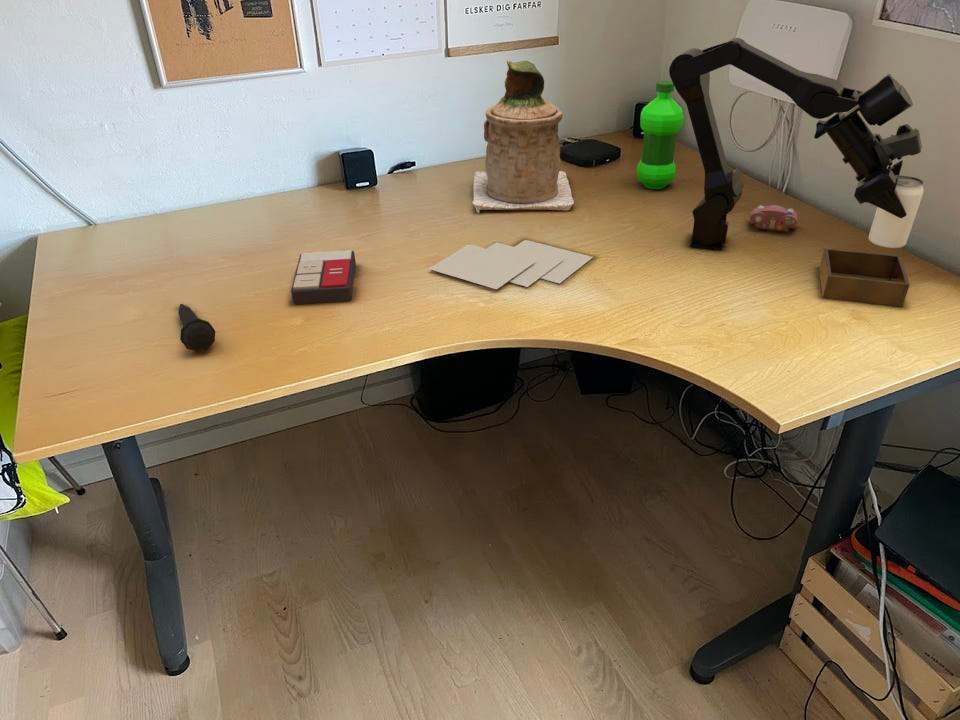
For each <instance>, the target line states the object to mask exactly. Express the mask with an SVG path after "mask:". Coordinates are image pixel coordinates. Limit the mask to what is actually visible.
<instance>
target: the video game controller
mask: <svg viewBox="0 0 960 720" xmlns="http://www.w3.org/2000/svg"><path fill="white" fill-rule="evenodd" d="M771 221H775V222H774V224H773V225H774V226H773V228H774V230H775V231H777V232H778V231H779V232H783V231H785V230H786V229H787V228H789V229H795V228H796V227H797V225H798V222H799V219H798V214H797V212H796V211H795V210H794V208H787V207H784V206H782V205H777V204H772V205H765V206H764V205H761V204H760V205H758V206H756V207H755V208H754V209H752V211H751V213H750V214H749V224H751V225H754V224H756V225H757V226H758V227H759V228H760V229H761V230H767V229H770V227H771V226H770V225H771Z"/></svg>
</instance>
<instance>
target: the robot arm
mask: <svg viewBox="0 0 960 720" xmlns="http://www.w3.org/2000/svg"><path fill="white" fill-rule="evenodd" d="M729 65H730V66H733V67H734V68H737V69H738V70H740V71H742V72H744V73H746V74H748V75H750V76H752V77H754V78H755V79H757V80H759V81H761V82H763V83H765V84H767V85H768V86H771V87H773V88H774V89H776V90H778V91H780V92H782V93H784V94H785V95H787V96H788V97H789V98H790V99H791V100H792V101H793V102H794V104H795V105H797V106H798V107H799V108H800V109H801V110H802V111H803V112H805V113H806V114H807V115H808V116H810V117H812V118H813V119H817V120H818V121H817V122H816V124H815V126H816V127H815V128H816V129H815V132H814V133H815V134H814V136H813V139H815V140H818V139H819V138H821V137H822V136H824V135H825V134H827V135H828V137H829V138H830V139H831V141H832V143H834V145H835V147H837V149H838V150H839V152H840V153H841V155H842V156H843V157H842V159H841V160H842V162H843V163H844V164H845V165H847V164H849V166H850V167H851V168H852V170H853V171H854V172H855V174H856V175H855V179H856V181H857V182H858V183H857V185H856V188H855V191H854V195H853V197H854V198H855V199H856V201H857V202H858V203H859V205H861V204H864V203H866V204H867V203H868V204H870V205H872V206H875V207H876V208H877V207H879V208H881V209H883V210H885V211H887V212H889V213H891V214H893V215H895V216H897V217H899V218H903V217H905V216H906V215H907V214H906V211H905V209H904V207H903V205H902V203H901V200H900V198H899V196H898V194H897V192H896V186H897V182H898V178H895V175H901V170H902V167H903V164H904V160H902V159H903V158H904V157H907V156H915V155H916V156H917V155H919V154H920V153H921V152H922V148H923V145H922V139H921V133H920V130H919V129H918V128H914V129H913V128H912V127H911V126H910V124H909V123H905V124H902V125H899V126H898V127H897V131H896V133H895V134H890V136H889V137H885V138H883V137H882V135H880V133H878V134H877V132H875V133H874V132H873V131H872V130H871V129H870V127H869V126H873V127H875V126H876V125H877V126H878V127H883V126H884V125H885V124H886V123H888V122H889V121H891V120H892V119H894V118H896V117H898V116H899V115H901V114H903V113H904V112H905V111H907V110H909V109H910V108H911V107H913V106H914V102H913V99H912V98H911V95H910V94H909V92H908V90H906V88H905V86H904V85H902V84H900V82H899V81H898V80H897V79H895V78H894V77H893V76H892V75H891V73H887V74H886V75H884V76H883V77H882V78H880V80H879V81H877V82H876V83H875V84H873V85H872V86H870V87H869V88H867V89H866V90H865V91H862V90H858V89H854V88H850V87H846V86H843V84H842V83H841V82H840V81H839V80H837V79H835V78H832V77H828V76H826V75H822V74H819V73H812V72H806V71H803V70H799V69H797V68H796V67H794V66H793V65H790V64H788V63H786V62H784V61H782V60H780V59H779V58H776V57H774V56H772V55H770V54H769V53H767V52H764V51H763V50H761V49H759V48H757V47H755V46H753V45H751V44H749V43H748V42H746V41H745V40H744V39H742V38H740V37H733V38H731V39H729V40H728V41H725V42H722V43H718V44H716V45H715V44H714V45H712V46H710V47H707V48H705V49H704V48H703V49H700V48H696V47H694V48H693V47H692V48H689V49H687V50H685V51H683V52H682V53H680V54H679V55H677V56H676V57H675V58H674V59H673V60H672V61H671V63H670V66H669V68H668V74H669V79H670V81H672V82H673V84H674V89H675V90H676V93H677V94H678V95H679V96H680V97H681V99H682V101H684V103H685V105H686V108H687V112H688V116H689V119H690V123H691V126H692V130H693V134H694V137H695V141H696V144H697V148H698V152H699V155H700V159H701V163H702V167H703V170H704V186H703V192H704V197H703V198H702V199H701V201H699V203H698V204H697V206H696V207H694V209H693V210H692V216H693V217H692V218H693V225H692V226H693V227H692V233H691V238H690V242H689V247H691V248H698V249H706V250H707V249H709V250H717V251H718V250H719V251H721V250H722V249H723V245H726V241H727V235H728V228H729V221H727V216H728V214H730V213H731V212H732V211H733V209H734V208H735V207H736V205H737V204H738V203H739V201H740V199H741V197H742V195H743V189H744V188H745V184H744V183H743V181H742V178H741V170H740V168H735V169H732V168H731V167H730V165H729V164H728V162H727V158H726V155H725V151H724V147H723V143H722V138H721V135H720V132H719V128H718V124H717V120H716V117H715V113H714V109H713V105H712V100H711V97H710V82H711V74H710V73H711V72H713V71H716V70H718V69H720V68H723V67H725V66H729ZM860 114H861V115H860ZM826 118H828V119H826ZM822 119H826V120H822ZM864 120H865V121H864ZM868 125H869V126H868ZM896 159H897V161H898V162H896V163H895V162H894V161H895V160H896Z"/></svg>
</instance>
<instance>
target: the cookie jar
mask: <svg viewBox="0 0 960 720" xmlns="http://www.w3.org/2000/svg"><path fill="white" fill-rule="evenodd" d="M506 64H507V68H508V69H507V71H506V77H505V80H504V81H503V83H504V88H505V92H504V96H502V97H501V98H500V100H499V101H498V102H497V103H496V104H495V105H492V106H489V107H487V109H486V111H485V118H486V119H485V120H484V122H483V130H484V132H483V139H484V142H486V143H487V144H486V149H485V160H484V161H485V162H484V164H485V165H484V167H485V171H475V173H474V177H473V185H472V186H473V188H472V191H473V199H472V201H471V203H472V206H473V207H474V208H475V210H476V213H477V214H479V213H480V212H481V210H490V211H491V210H492V211H493V210H494V211H506V210H507V211H510V210H514V211H515V210H551V211H566V212H568V211H570V210H571V208H572V207H573V206H574V204H575V200H574V198H573V196H572V188H571V187H570V186H571V185H570V184H569V183H570V182H569V179H568V177H567V172H565V171H563V170H561V165H562V161H561V157H560V156H561V146H560V138H559V123H560V122H561V121H562V119H563V112H562V111H561V110H560V108H559V107H558V106H555V105H554V104H553V103H552V102H550V101H549V100H547V99H544V98H543V97H542V95H543V92H544V90H545V78H544V75H542V73H541V71H539V70H538V69H537V67H536V65H535V64H534V63H533V62H531V61H529V60H522V61H521V60H520V61H515V62H513V61H511V60H510V59H508V60H506Z"/></svg>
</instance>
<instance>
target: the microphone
mask: <svg viewBox="0 0 960 720" xmlns="http://www.w3.org/2000/svg"><path fill="white" fill-rule="evenodd" d="M178 316H179V320H180V322H181V326H182V327H181V328H180V335H179V336H180V338H179V340H180V342H181V343H182V344H183V346H184V347H185V349H187V350H190V351H193V352H202V351H204V350H208V349H210V347H211V346H212V344H214V342H215V341H216V330H215V328H214V327H213V326H212V325H211V323H210V322H209V321H207V320H205V319H201V318H199V317H198V316H197V315H196V314H195V312H194V311H193V310H192V308H191V307H190V306H188V305H185V304H183V303H180V304H179V308H178Z"/></svg>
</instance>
